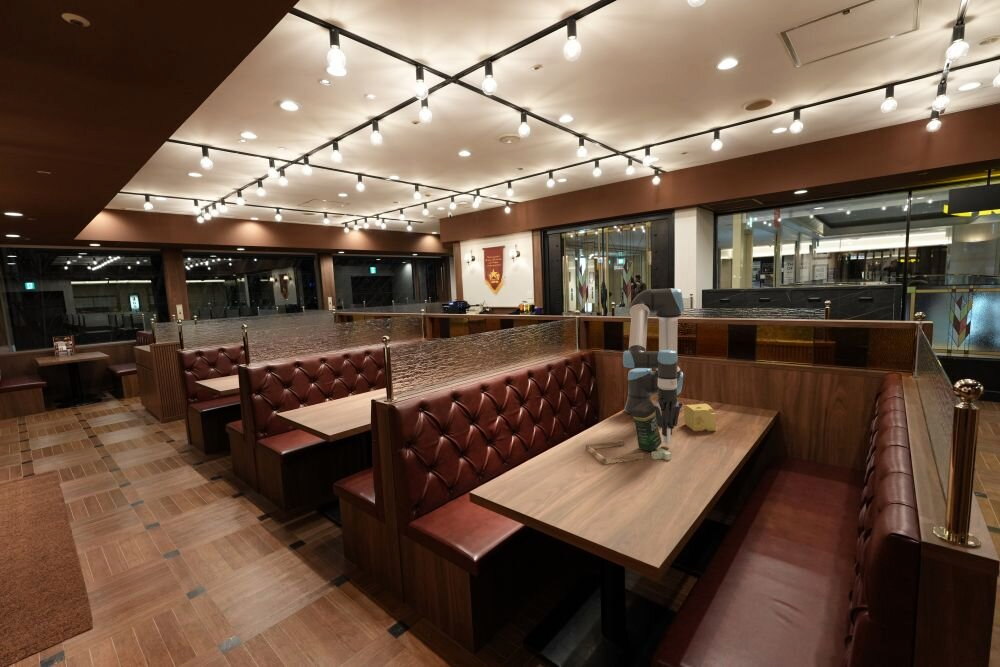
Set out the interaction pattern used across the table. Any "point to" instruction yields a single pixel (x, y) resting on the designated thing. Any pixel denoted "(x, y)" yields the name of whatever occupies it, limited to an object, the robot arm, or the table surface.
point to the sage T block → (661, 454)
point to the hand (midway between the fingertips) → (667, 442)
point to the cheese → (700, 417)
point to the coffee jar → (646, 426)
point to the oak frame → (612, 459)
